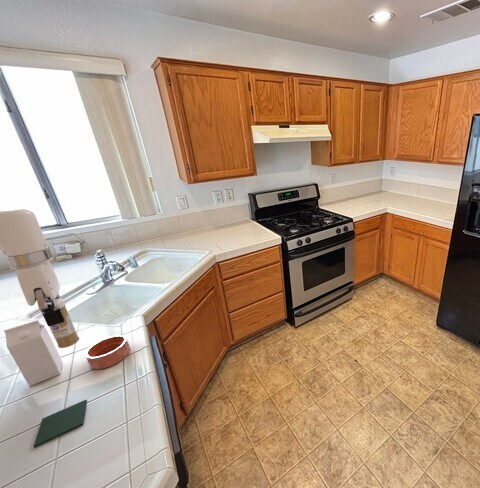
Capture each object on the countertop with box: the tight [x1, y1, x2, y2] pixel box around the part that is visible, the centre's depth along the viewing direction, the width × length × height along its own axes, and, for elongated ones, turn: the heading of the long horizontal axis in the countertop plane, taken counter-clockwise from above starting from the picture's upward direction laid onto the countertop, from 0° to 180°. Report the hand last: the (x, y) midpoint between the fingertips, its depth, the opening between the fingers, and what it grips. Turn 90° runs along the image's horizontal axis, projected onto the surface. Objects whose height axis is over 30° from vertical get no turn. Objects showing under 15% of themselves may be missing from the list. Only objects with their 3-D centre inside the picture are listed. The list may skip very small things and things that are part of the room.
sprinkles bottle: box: [47, 298, 80, 349], centre depth 72 cm, size 5×5×13 cm
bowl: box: [84, 334, 131, 370], centre depth 90 cm, size 11×11×5 cm
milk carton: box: [3, 319, 63, 387], centre depth 82 cm, size 7×7×19 cm
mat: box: [33, 399, 88, 449], centre depth 69 cm, size 9×9×1 cm
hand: (58, 318), depth 72 cm, fingers closed on sprinkles bottle, 4 cm apart
